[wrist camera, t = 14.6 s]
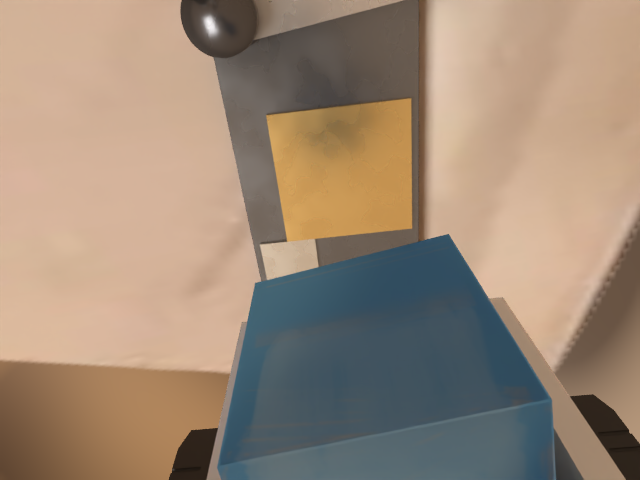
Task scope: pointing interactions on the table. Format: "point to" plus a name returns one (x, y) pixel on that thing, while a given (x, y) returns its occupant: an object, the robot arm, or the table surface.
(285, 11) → the swing arm
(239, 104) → the tray
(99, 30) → the table surface
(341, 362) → the perfume bottle
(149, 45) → the table surface
